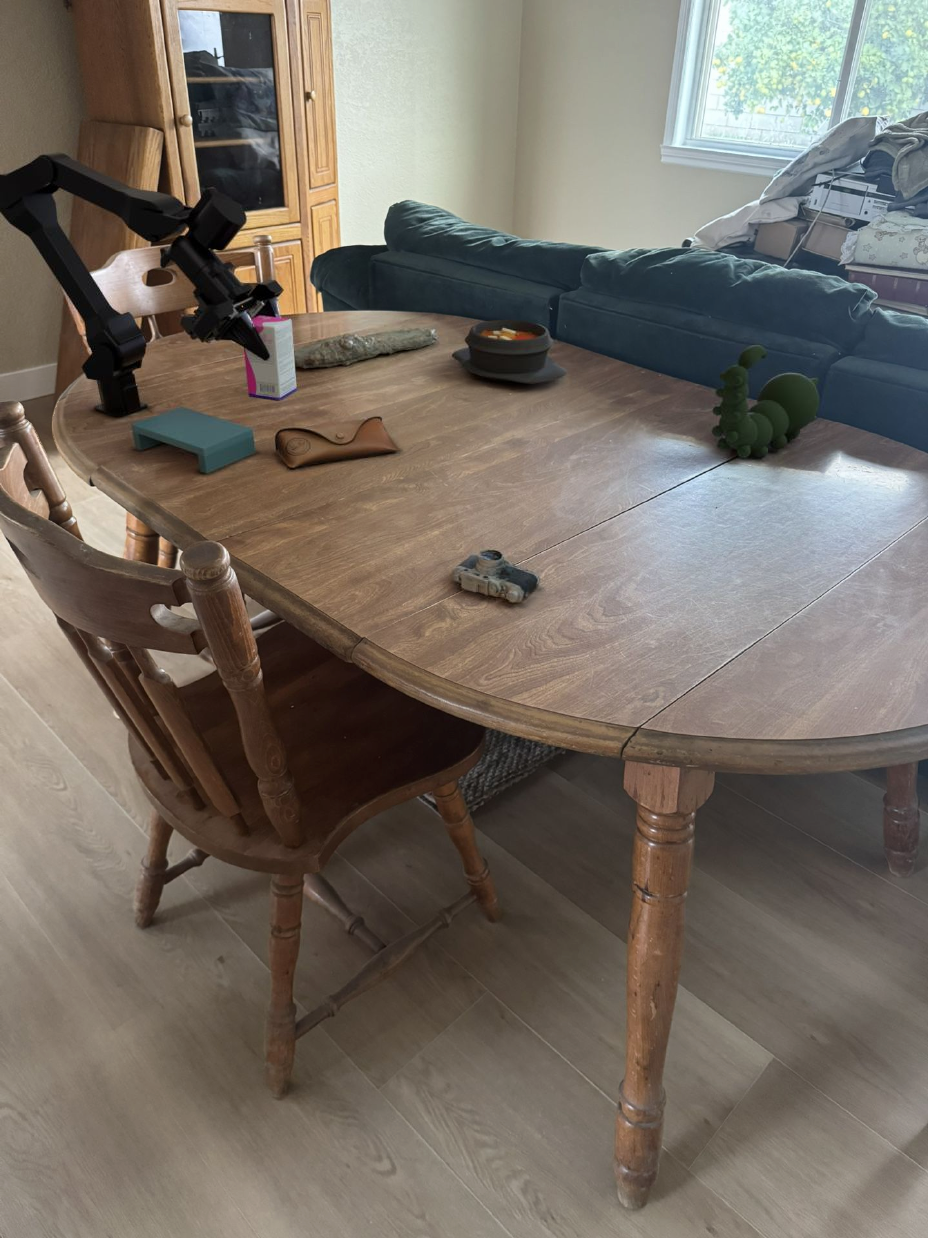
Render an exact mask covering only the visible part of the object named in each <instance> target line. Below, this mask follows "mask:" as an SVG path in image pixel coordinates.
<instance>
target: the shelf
mask: <svg viewBox="0 0 928 1238" xmlns="http://www.w3.org/2000/svg"><path fill="white" fill-rule="evenodd" d="M130 426H131V432H132V438H133V443H134V449H135V450H138V451H144V450H147V449H149V448H152V447H154V446H157V445H160V444H162V443H165V444H167V445H170V446H174V447H176V448H180V449H182V450H184V451H185V450H186V451H187V452H191V453H193V454H197V459H198V465H199V471H200V473H203V474H205V475H208V474H211V473H213V472H215V471H217V470H219V469H222V468H224V467H227V466H229V465H231V464H233V463H236V462H238V461H240V460H242V459H245V458H247V457H249V456H252V455H254V454H256V445H255V436H254V429H253V428H251V427H249V426H245V425H242V424H238V423H235V422H232V421H229V420H226V419H222V418H220V417H216V416H213V415H210V414H207V413H204V412H200V411H197V410H194V409H190V408H188V407H184V406H179V407H176V408H174V409H170V410H168V411H165V412H163V413H160V414H157V415H154V416H150V417H149V418H145V419H143V420H140V421H136V422H133V423H131V424H130Z"/></svg>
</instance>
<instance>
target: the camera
mask: <svg viewBox="0 0 928 1238" xmlns="http://www.w3.org/2000/svg"><path fill="white" fill-rule="evenodd" d="M451 573H452V574H451V575H452V580H453V581H454V582H457V583H459V584H461V586H460V587H461V589H462V590H464V591H470V592H473V593H481V594H484V595H485V596H492V597H496V598H499V597H500V598H502V599H505V600H508V602H510V603H522V601H524V600H525V599H526V598H527V597H529V596H530V594H532V593H533V592H535V590H537V589H538V588H539V586H540V584H541V578H540V576H539V575H538V574H537V573H536V572H534V571H531V570H529V569H525V568H522V567H519V566H517V565H515V564H513V563H510V562H509V561H508V560H506V558H505V556H504V555H503V553H502V551H499V550H495V549H482V550H480V551H479V552H478V554H471V555H469V556H467V558H465V559H464V560H463V561H462V562H461V563H459V564H458V565H456V566H455V567H453V570H452V572H451Z"/></svg>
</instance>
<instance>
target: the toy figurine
mask: <svg viewBox="0 0 928 1238" xmlns="http://www.w3.org/2000/svg"><path fill="white" fill-rule="evenodd" d="M760 358H761V359H766V358H767V351H766V349H765V347H764V346H761V345H759V344H755V345H754V344H753V345H750V346H748V347H747V348H745V349H744V350H742V352H741V353H740V354H739V356H738V359H737V364H735V365H731V366H729V367H728V368H727V369H726V371H723V372H720V374H719V380H721V381H722V382H724V384H723V386H720V387H717V388H716V390H715V395H716V396H717V397H718V398H721V399H722V401H721V402H720V404H719V405H718V404H717V405H715V406H714V407H713V409H712V413H713V415H715V416H720V418H719V420H718V424H716V425H715V426H712V429H711V434H712V435H713V437H715V438H718V440H717V442H716V446H717V448H718V449H719V450H721V451H725V450H728V449H729V448H732V449H734V450H736V453H737V456H738V457H739V458H744V459H745V458H747V457H749V456H750V455H751V453H753V454H754V456H756V457H757V458H759V459H762V458H765V457H766V456H767V455H768V453H769V448H768V447H767V446H768V445H770V447H771V448H772V449H774V450H782V449H784V448H785V446H786V445H787V443H788V441H791V440H795V439H797V438H798V437H799V436H800V434H801V430H802V429H803V428H805V427H807V426H808V425H809V424H810V423H812V422H814V421H815V420H816V415H817V414H818V410H819V406H820V396H819V392H818V389H817V385H818V383H819V378H818V377H813V378H808V377H807V376H806V375H803V374H802V373H797V372H785V373H781V374H778V375H776V376H774V377H771V379H769V380H768V381H767V382H765V384H764V385H763V386H762V388H761V389H760V391H759V393H758V396H757V400H756V403H754V404H753V405H752V406H751V407H750V406H749V402H748V401H747V399H748V396H749V394H750V393H749V392H750V391H749V386H748V384H747V383H748V381H749V373H748V370H749V369H751V368H752V367H754V365H756V363H757V362H758V361H759V360H760Z"/></svg>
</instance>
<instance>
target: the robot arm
mask: <svg viewBox="0 0 928 1238" xmlns="http://www.w3.org/2000/svg"><path fill="white" fill-rule="evenodd" d="M61 190H63V191H65V192H67V193H69V194H71V195H73V196H76V197H77V198H80V199H82V200H84V201H87V202H88V203H90V204H92V205H94V206H96V207H99V208H101V209H103V210H104V211H107V212H109V213H112V214H113V215H115V216H117V217H118V218H119V219H121V220H122V222H123V223H124V224H125V226H126V227H127V228H128V229H129V230H131V232H133V233H135V234H136V235H137V236H139V237H140V238H142V239H143V240H145V241H146V242H148V243H149V242H150V243H159V242H162V241H165V240H169V239H173V238H174V240H173V241H172V243H170V245H168V246H167V245H166V246H164V247H161V248H159V252H160V258H159V266H160V268H162V269H166V268H169V267H171V266H174V265H175V266H176V267H177V268H178V270H179V271H181V273H182V274H183V276H185V277H186V278H187V279H188V280H189V282H190V283H191V284H192V285H193V287H195V289H194V290H193V291H192V293H193V297H194V298H195V300H196V301H197V302H198V306H197V308H196V309H194V310H193V311H192V312H193V313H187V314H184V315H183V316H181V319H180V323H179V325H180V326H181V328H182V329H183V330H184V332H185V333H186V334H187V335H189V336H190V339H191V340H193V341H194V340H197V339H198V340H199V341H200V342H201V343H206V344H211V342H212V341H217V342H220V341H230V342H234V343H235V344H237V345H238V346H241V347H242V348H243V349H244V348H246V349H247V350H249V351H250V352H252V353H253V354H255V355H257V356H258V357H260V358H261V359H263V360H265V361H266V360H268V359H269V358H270V354H269V352H268V350H267V348H266V346H265V344H264V343H263V341H262V339H261V337H260V335H259V334H258V332H257V330H256V328H255V327H254V325H253V323H252V321H251V319H253V318H255V317H257V316H269V317H278V318H282V317H281V314H280V308H279V305H278V301H279V297H280V296H281V295H282V294H283V292H284V291H285V290H284V288H283V287H282V285H281V284H279V282H278V281H277V280H276V279H266V280H265V281H262V282H259V283H257V284H256V285H255V287H254V288H253V286H252V285H251V284H250V283H249V282H248V283H245V284H243V282H241V281H240V279H239V278H238V277H237V276H236V275H235V274H234V272H233V271H232V270H233V269H234V268H235V265H234V264H233V263H232V262H231V261H230V260H229V261H226V262H225V261H223V259H222V258H220V256H219V255H218V254H217V252H216V251H219V252H220V251H221V252H222V251H225V250H226V249H227V247H228V246H229V245H230V244H231V242H232V241H233V240H234V239H235V237H237V235H238V234H239V233H240V232H241V230H242V229H243V227H244V226H245V225H246V224H247V221H248V217H247V214H246V212H245V210H244V209H243V207H242V206H241V204H239V202H238V201H234V199H232V198H231V197H229V196H228V195H226V194H224V193H221V192H220V191H218V189H217V188H216V187H214V186H212V187H207V188H205V189H204V191H203V192H202V194H201V195H200V198H199V200H198V201H197V202H196V204H195V205H194V206H190V205H186V204H184V203H183V202H182V201H181V200H180V199H179V198H177V197H176V196H173V195H171V194H166V193H162V192H159V191H154V190H147V189H140V188H135V187H132V186H130V185H127V184H125V183H123V182H121V181H119V180H117V179H114V178H113V177H111V176H109V175H106V174H104V173H102V172H100V171H98V170H96V169H93V168H91V167H89V166H88V165H86V164H84V163H81V162H79V161H77V160H75V159H73V158H71V157H70V156H69V155H68V154H65V153H63V152H60V151H59V152H52V153H51V152H50V153H44V154H39V155H38V156H37V157H36V158H34V159H33V160H32V161H30V162H29V163H26V164H25V165H22V166H21V167H19V168H17V169H14V170H13V171H11V172H5V173H0V214H1V215H2V216H3V218H4V219H5V220H6V221H7V222H8V224H10V225H11V226H12V227H14V228H15V229H17V230H18V231H20V232H21V233H22V234H24V235H25V236H27V237H28V238H29V239H30V241H31V242H32V243H33V245H34V247H35V248H36V249H37V250H38V252H39V254H40V256H41V257H42V259H43V260H44V262H45V263H46V265H47V267H48V268H49V270H50V271H51V273H52V274H53V276H54V277H55V279H56V281H57V282H58V284H59V286H61V288H62V290H63V291H64V293H65V294H66V296H67V297H68V299H69V300H70V302H71V303H72V305H73V307H74V308H75V310H76V311H77V312H78V314H79V316H80V318H81V319H82V321H83V323H84V331H85V341H86V344H87V346H88V347H89V350H90V351H91V354H90V355H89V356H88V358H86V360H85V361H84V363H83V364H82V365H81V369H82V371H83V373H84V375H85V378H86V379H87V380H92V381H96V383H97V389H98V395H99V398H100V399H99V400H100V403H99V404H97V405H95V406H94V405H93V410H95V411H97V412H100V413H104V414H105V415H106V414H107V415H109V416H112V417H115V418H120V417H124V416H127V415H129V414H132V413H135V412H139V411H141V410H144V409H147V408H149V405H148V404H147V403H145V402H142V401H141V400H140V399H141V398H140V393H139V388H138V384H137V381H136V375H135V374H134V373H133V371H136V370H138V369H141V368H142V366H143V365H142V364H143V359H144V358H145V355H146V352H147V347H148V346H147V342H146V340H145V337H144V335H145V332H144V330H142V329H141V328H140V327H139V325H138V323H137V322H136V319H135V317H134V315H133V314H132V313H131V312H130V311H126V312H124V313H121V312H119V311H118V310H116V309H115V308H113V306H111V304H110V303H109V301H108V300H107V298H106V296H105V295H104V293H103V291H102V290H101V289H100V287H99V285H98V283H97V282H96V281H95V279H94V277H93V276H92V274H91V273H90V271H89V269H88V267H87V266H86V264H85V263H84V262H83V260H82V259H81V257H80V256H79V254H78V251H76V248H75V247H74V246H73V244H72V243H71V241H70V239H69V238H68V236H67V235H66V233H65V231H64V230H63V229H62V227H61V225H60V223H59V217H58V210H57V209H58V207H57V202H56V200H55V198H54V196H53V195H55V194H56V193H57V192H59V191H61ZM187 229H188V230H187ZM186 230H187V232H186V233H185V234H184V232H185V231H186Z"/></svg>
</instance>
